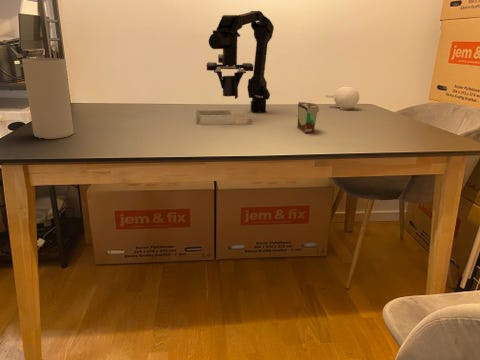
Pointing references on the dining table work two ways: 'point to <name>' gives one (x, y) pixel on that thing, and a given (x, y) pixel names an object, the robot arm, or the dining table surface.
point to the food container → (307, 117)
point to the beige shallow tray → (219, 117)
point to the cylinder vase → (48, 97)
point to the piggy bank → (345, 97)
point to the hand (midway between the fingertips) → (229, 88)
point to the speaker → (230, 85)
